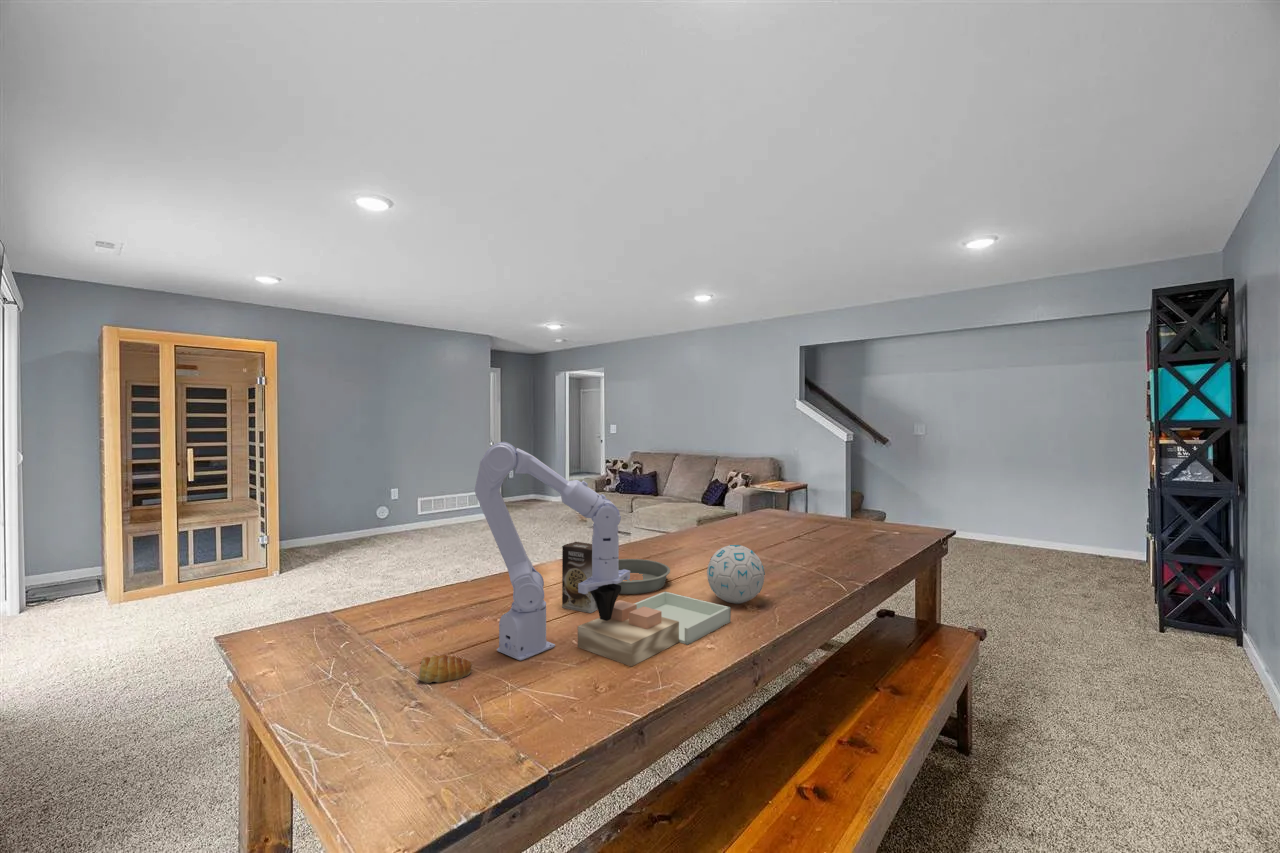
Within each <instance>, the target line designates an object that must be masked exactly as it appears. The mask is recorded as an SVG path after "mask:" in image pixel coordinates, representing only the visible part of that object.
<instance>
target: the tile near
mask: <svg viewBox="0 0 1280 853" xmlns="http://www.w3.org/2000/svg"><path fill="white" fill-rule="evenodd" d="M661 617H662V611H659V610H655V609H651V608H648V607H644V606H643V607H641V608H638V609H636V610H633V611H631V612H629V624H631V625H635V626H638V627H641V628H644V629H649V628H651V627H653V626H655V625H658V624H660V623H661Z"/></svg>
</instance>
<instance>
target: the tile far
mask: <svg viewBox="0 0 1280 853" xmlns="http://www.w3.org/2000/svg"><path fill="white" fill-rule="evenodd" d="M636 609H637V604H634V603H633V602H629V601H625V600H621V599H619V600H616V602H615V605H614V608H613V612H612V616H611V619H615V620H618V621H621V622H622V621H625V620H627V619H629V612H631V611H633V610H636Z"/></svg>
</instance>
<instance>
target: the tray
mask: <svg viewBox="0 0 1280 853" xmlns="http://www.w3.org/2000/svg"><path fill="white" fill-rule="evenodd" d="M633 604H637V609H638V608H641V607H643V606H644V607H648V608H651V609H655V610H659V611H662V617H664V618H668V619H672V620H675V621H679V642H678V643H681V644H684V645H687V646H688V645H690V644H692V643H694V642H696V641H697V640H699V639H701V638H703V637H705V636H706V635H709V634H710V632H711V633H712V632H714V631H716V630H718V629H720V628H722V627H724V626H726V625H727V624H729V623H731V620H732V619H731V615H732V614H731V611H732V610H731V607H730V606H726V605H723V604H719V603H714V602H710V601H705V600H702V599H697V598H693V597H689V596H686V595H685V596H684V595H680V594H678V593H673V592H669V591H662V592H660V593H657V594H655V595H652V596H650V597H647V598H644V599H642V600H640V601H637V602H635V603H633ZM725 624H726V625H725ZM723 625H724V626H723ZM721 626H722V627H721Z"/></svg>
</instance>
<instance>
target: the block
mask: <svg viewBox="0 0 1280 853" xmlns="http://www.w3.org/2000/svg"><path fill="white" fill-rule="evenodd" d="M678 643H680V642H679V621H675V620H672V619H668V618H664V617H661V623H660V624H658V625H655V626H653V627H651V628H649V629H644V628H641V627H638V626H635V625H631V624H629V619H627V620H625V621H622V622H621V621H618V620H615V619H610V620H608V621H605V620H602V619H600V617H597V618H595V619H593V620H590V621H588V622H585V623H582V624H580V625H577V648H579V649H582V650H584V651H588V652H589V653H593V654H595V655H598V656H601V657H605V658H606V659H610V660H613V661H614V662H618V663H620V664H623V665H626V666H629V667H631V668H632V667H634V666H636V665H638V664H640V663H641V662H644V661H645V660H647V659H649V658H651V657H653V656H655V655H657V654H658V653H660V652H662V651H664V650H667V649H668V648H671V647H672V646H674V645H677V644H678Z"/></svg>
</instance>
